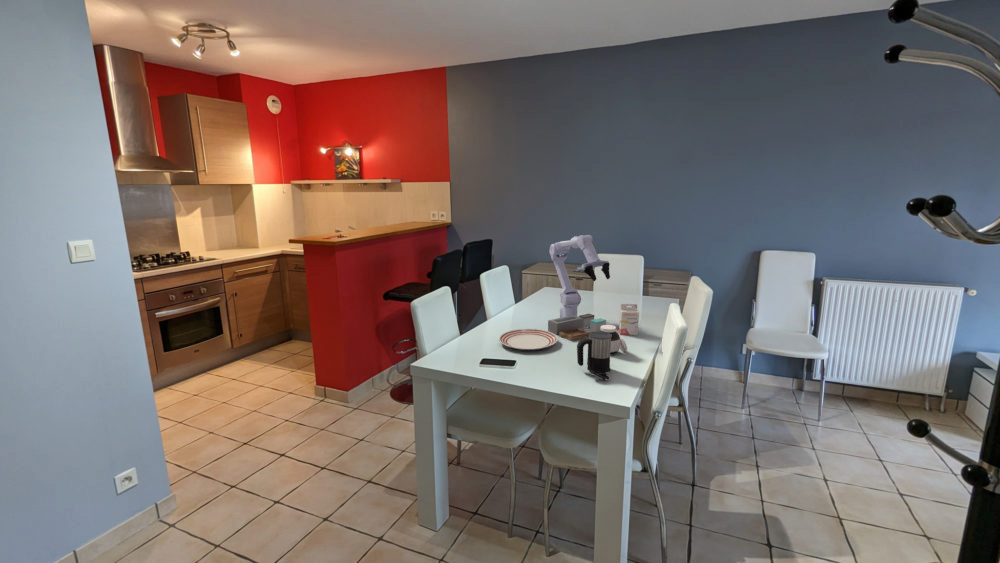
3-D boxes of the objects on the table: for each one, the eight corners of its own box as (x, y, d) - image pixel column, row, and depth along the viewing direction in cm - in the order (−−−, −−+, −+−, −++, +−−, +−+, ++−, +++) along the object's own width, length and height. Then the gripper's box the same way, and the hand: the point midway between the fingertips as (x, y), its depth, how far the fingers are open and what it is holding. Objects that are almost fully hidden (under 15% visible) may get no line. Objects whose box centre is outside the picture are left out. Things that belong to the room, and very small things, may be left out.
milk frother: (600, 363, 196) (601, 329, 193) (627, 377, 182) (629, 340, 179) (572, 370, 189) (573, 335, 186) (598, 384, 176) (599, 346, 173)
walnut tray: (559, 336, 232) (559, 331, 232) (577, 331, 239) (577, 327, 238) (571, 341, 225) (571, 336, 224) (590, 336, 231) (590, 332, 231)
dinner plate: (554, 356, 206) (554, 348, 205) (493, 352, 212) (493, 345, 211) (559, 336, 232) (559, 330, 232) (505, 333, 238) (505, 327, 237)
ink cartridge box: (620, 334, 233) (621, 306, 230) (618, 331, 238) (620, 303, 235) (638, 335, 232) (639, 306, 229) (636, 332, 237) (637, 303, 234)
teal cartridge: (590, 331, 239) (590, 320, 238) (600, 329, 242) (600, 318, 241) (595, 333, 235) (596, 322, 234) (605, 331, 239) (606, 320, 238)
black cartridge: (578, 326, 248) (579, 315, 247) (588, 324, 252) (589, 313, 250) (584, 328, 245) (584, 317, 243) (594, 326, 248) (594, 315, 247)
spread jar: (592, 351, 211) (593, 326, 209) (608, 345, 218) (609, 321, 216) (615, 358, 202) (616, 332, 200) (630, 352, 209) (631, 327, 207)
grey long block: (547, 331, 240) (547, 319, 238) (573, 326, 249) (573, 314, 247) (556, 335, 234) (557, 323, 232) (582, 329, 243) (582, 317, 241)
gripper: (581, 252, 227) (592, 276, 221) (607, 249, 232) (618, 272, 226) (576, 260, 232) (586, 284, 226) (601, 257, 238) (612, 280, 231)
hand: (601, 279), depth 226 cm, fingers open, 7 cm apart
